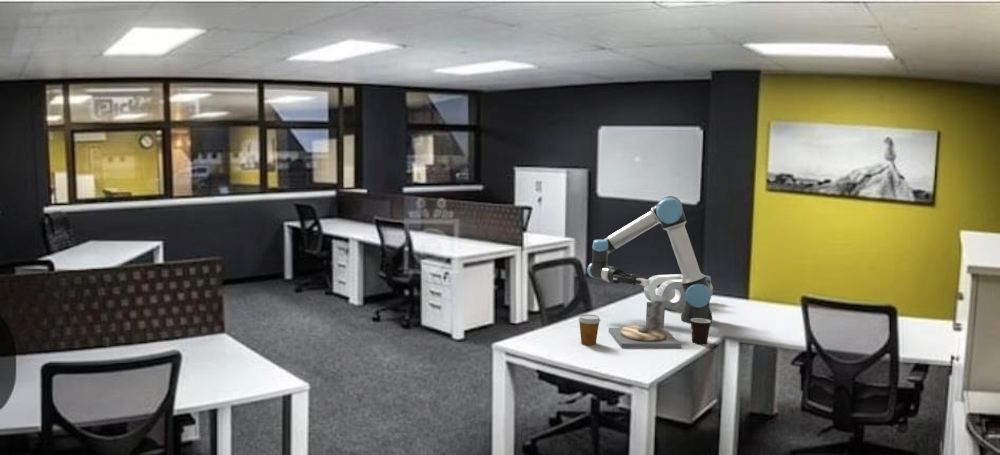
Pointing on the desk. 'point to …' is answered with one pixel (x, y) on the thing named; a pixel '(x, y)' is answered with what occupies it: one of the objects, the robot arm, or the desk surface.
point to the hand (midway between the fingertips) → (648, 283)
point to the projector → (668, 290)
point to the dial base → (631, 343)
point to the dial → (649, 324)
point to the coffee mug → (700, 330)
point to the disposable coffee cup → (589, 328)
